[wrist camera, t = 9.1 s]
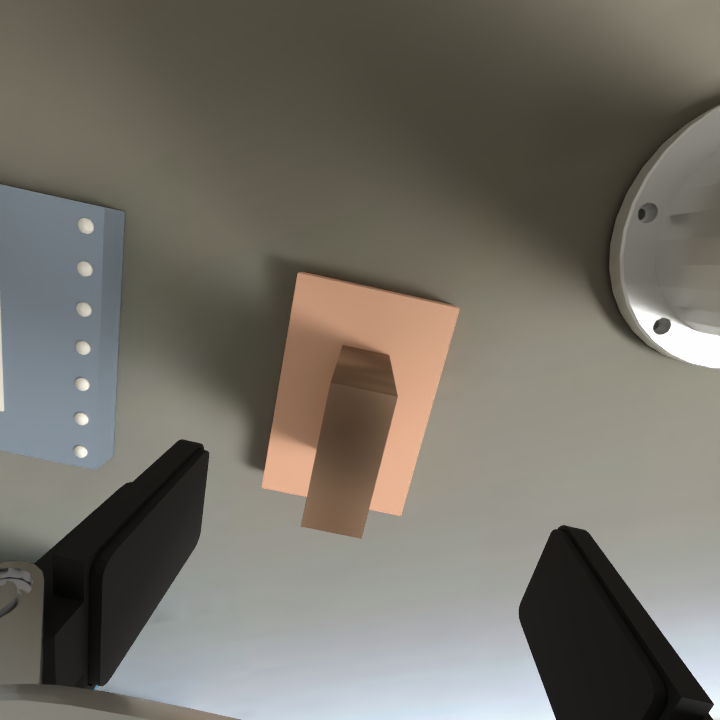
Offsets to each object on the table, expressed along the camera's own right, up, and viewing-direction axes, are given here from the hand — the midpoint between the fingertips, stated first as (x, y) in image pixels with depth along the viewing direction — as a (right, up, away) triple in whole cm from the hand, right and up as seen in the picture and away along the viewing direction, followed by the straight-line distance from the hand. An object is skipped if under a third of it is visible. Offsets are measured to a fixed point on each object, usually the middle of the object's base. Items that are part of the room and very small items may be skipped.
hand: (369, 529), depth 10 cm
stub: (-1, +3, +11) cm, 11 cm away
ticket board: (-21, +7, +10) cm, 25 cm away
